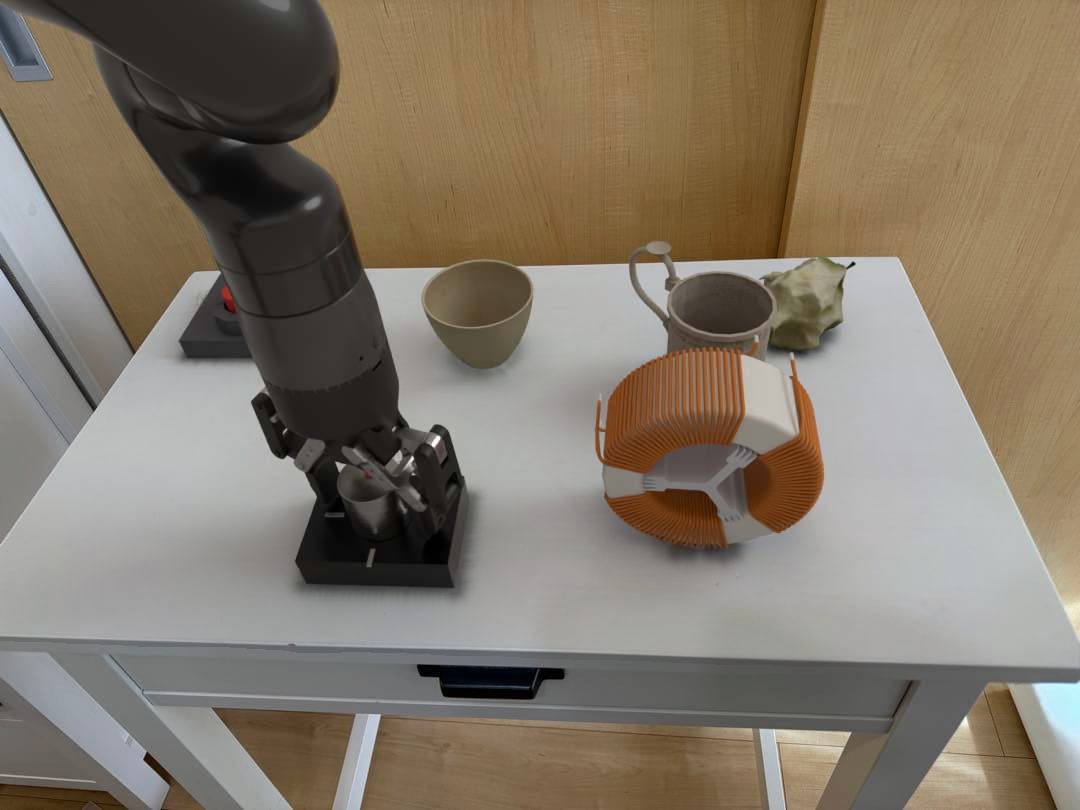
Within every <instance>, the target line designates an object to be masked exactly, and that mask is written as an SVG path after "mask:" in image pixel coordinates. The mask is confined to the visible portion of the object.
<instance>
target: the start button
mask: <svg viewBox="0 0 1080 810" xmlns="http://www.w3.org/2000/svg"><path fill="white" fill-rule="evenodd" d="M222 296H223V298H224V301H225V303H226V305H227V307H228V309H229V311H231V312H232V313H237V311H236V308H235V305H234V302H233V299H232V297H231V295H230V293H229V290H228V288H227V286H225V287H224V288H223V290H222Z"/></svg>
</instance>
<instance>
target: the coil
mask: <svg viewBox="0 0 1080 810" xmlns="http://www.w3.org/2000/svg"><path fill="white" fill-rule="evenodd" d="M754 340H755V345H754V347H753V348H752V349H751V350H750V352H749V353H748V354H747V355H741V353H740V350H736V351H735V352H734V351H733V349H729V350H728V352H727V349H726V348H723V349H722V351H720V348H718V347H717V348H716V349H715V351H713V348H712V347H710V348H709V352H706V348H705V347H703V348H702V352H700V351H699V348H696V349H695V352H693V350H692V349H689V351H688V353H687V352H686V350H682V355H681V354H680V352H679V351H676V352H675V355H674V354H673V353H669V357H668V356H667V353H666V354H663V355H662V356H657V357H656V358H652V359H651V360H650V361H646V362H645V364H644V363H643V364H640V366H639V367H638V366H637V367H636V368H635V369H634V370H632V371H631V372H630V373H629V374H627V375H626V377H623V379H622V380H621V381H620V382H619V383H618V385H616V386H615V388H614V390H613V391H612V393H611V394H610V396H609V398H608V400H607V409H606V418H605V428H603V427H602V426H603V420H600V419H601V409H602V407H601V406H602V398H603V397H602V396H603V394H602V393H598V396H597V404H596V413H595V426H594V433H595V434H594V440H595V441H594V442H595V445H594V446H595V447H594V448H595V453H596V456H597V459H598V460H599V462H600V463H601V464H602V472H601V478H602V481H603V482H602V483H603V488H604V494H603V498H604V500H605V502H606V503H607V505H608V507H610V509H611V510H612V512H614V513H615V515H616V516H618V518H619V519H620V520H622V521H623V522H624V523H626V524H627V525H628V526H630V527H631V528H633V529H635V530H636V531H639V532H640V533H641V534H644V535H646V536H650V537H651V538H654V539H656V540H660V541H661V542H666V543H668V544H669V543H672V545H675V544H677V545H678V546H681V545H683V546H684V547H687V546H689V548H690V547H691V548H693V547H695V548H699V547H700V546H701V548H702V549H704V548H706V547H707V548H708V549H711V547H712V546H713V548H714V549H717V548H718V546H719V548H720V549H722V548H725V549H728V548H729V547H731V544H735V543H741V542H748V541H752V540H755V539H758V538H761V537H764V536H768V535H771V534H772V533H775V534H781V533H782V532H785V531H786V530H787V529H791V528H792V526H795V525H796V523H798V522H800V521H801V520H803V519H804V517H805V516H807V515H808V513H810V512H811V510H812V509H813V508H814V506H815V504H816V503H817V501H818V500H819V498H820V496H821V494H822V490H823V487H824V482H825V468H824V462H823V456H822V450H821V444H820V438H819V432H818V426H817V421H816V414H815V409H814V406H813V403H812V399H811V398H810V395H809V393H808V392H807V389H806V388H804V387H805V386H803V384H801V381H800V380H799V378H798V373H797V368H796V363H795V357H794V352H790V353H789V361H790V367H791V372H792V375H788V374H786V373H784V372H783V371H781V370H780V369H779V368H777V367H775V366H774V365H772V364H770V363H768V362H763V361H760V360H758V359H755V358H752V357H751V356H752V355H753V353H754V352H755V351H756V349H757V348H758V346H759V340H758V335H755V336H754ZM600 432H601V433H604V440H603V451H602V452H603V453H601V443H600ZM602 454H603V455H602Z"/></svg>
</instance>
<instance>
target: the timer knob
mask: <svg viewBox="0 0 1080 810" xmlns="http://www.w3.org/2000/svg"><path fill="white" fill-rule="evenodd" d="M398 464H399V463H398V462H397V461H396V460H395V459H394V457H393V458H392V459H391V460H390V462H389V463H388V464H387V465H386V466H385V468H386V469H387V470H388V471H389V472H390V473H391V474H392V472H393V471H394V470H395V468H396V467H397V466H398ZM339 472H340V473H339V476H338V479H337V488H338V491H339V493H340V496H341V498H342V501H343V503H344V506H345V508H346V511H347V513H348V516H349V518H350V520H351V523H352V525H353V528H354V530H355V531H356V533H357V534H358V535H359V536H361V537H362V538H364V539H367V540H371V541H382V540H387V539H390V538H392V537H394V536H396V535H398V534H399V533H401V532H402V531H403V530H404V529H405V528H406V527H407V525H408V524H409V522H410V520H411V514H410V510H409V507H410V505H409V504H408V503H407V502H406V501H405V500H404V499H403V498H402V497H401V496H400V495H399V494H398V493H397V492H396V491H392V492H387V491H385V490H384V489H383V488H382V487H381V486H380V485H379V484H378V483H377V482H376V481H375V480H374V479H373V478H372V477H371V476H370V475H369V474H368V473H367V472H365V471H362V470H360V469H358V468H356V467H354V466H352V465H347V464H344V466H343V467H342V469H341V470H340V471H339Z"/></svg>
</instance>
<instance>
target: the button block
mask: <svg viewBox="0 0 1080 810" xmlns="http://www.w3.org/2000/svg"><path fill="white" fill-rule="evenodd" d="M225 286H226V283H225V281H224V279H223V277H222V274H221V273H220V274H219V275H218V277H216V280H214V283H213V284H212V286H211V287H210V289H209V290H208V292H207V294H206V296H205V297H204V299H203V300H202V302H201V303H200V305H199V307H198V309H197V310H196V312H195V313H194V315H193V316H192V318H191V320H190V321H189V323H188V324H187V326H186V327H185V329H184V331H183V332H182V334H181V336H180V337H179V339H178V343H179V345H180V346H181V349H182V350H183V352H184V354H185V356H186V358H253V357H252V355H251V352H250V350H249V348H248V346H247V343H246V341H245V338H244V336H243V333H242V330H241V327H240V324H239V320H238V315H237V313H232V312H231V311H229V309H228V307H227V305H226V303H225V301H224V298H223V296H222V290H223V288H224V287H225Z"/></svg>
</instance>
